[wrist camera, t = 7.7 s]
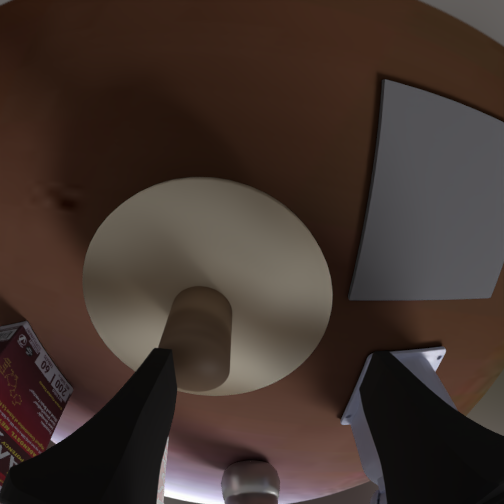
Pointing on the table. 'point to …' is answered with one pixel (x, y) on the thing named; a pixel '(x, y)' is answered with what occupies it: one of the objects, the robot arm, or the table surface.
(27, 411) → the supplement box
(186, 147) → the table surface
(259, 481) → the plastic bottle
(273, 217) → the board
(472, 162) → the mat
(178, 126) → the table surface
